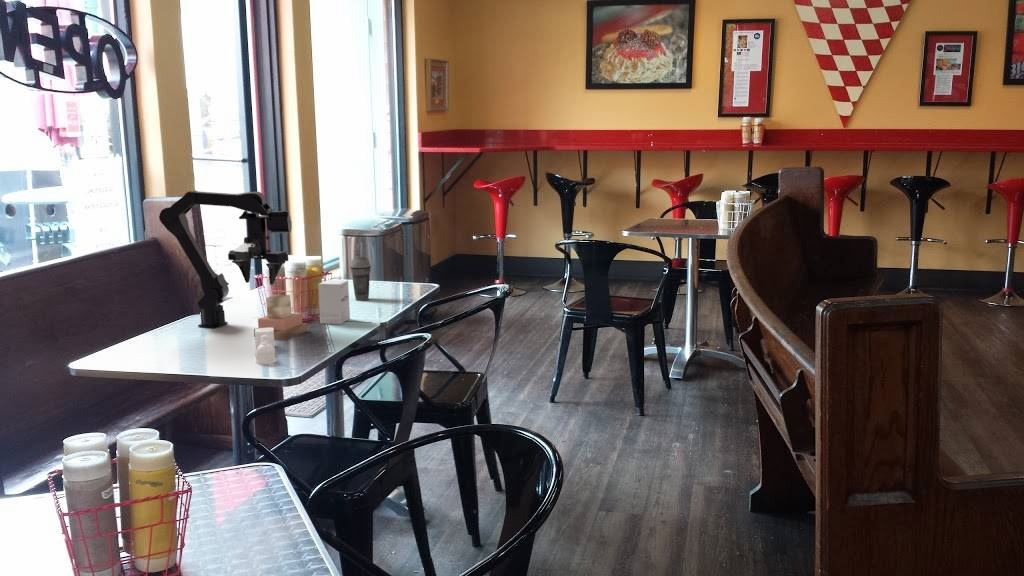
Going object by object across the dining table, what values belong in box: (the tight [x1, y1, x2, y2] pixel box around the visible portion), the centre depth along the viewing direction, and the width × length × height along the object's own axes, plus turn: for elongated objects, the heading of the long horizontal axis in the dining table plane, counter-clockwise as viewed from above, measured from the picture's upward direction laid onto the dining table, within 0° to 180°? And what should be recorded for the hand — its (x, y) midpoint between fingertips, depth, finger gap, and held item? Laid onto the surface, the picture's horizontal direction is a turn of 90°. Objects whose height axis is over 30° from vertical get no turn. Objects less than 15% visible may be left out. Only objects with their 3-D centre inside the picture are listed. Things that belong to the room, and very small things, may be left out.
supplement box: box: [317, 279, 351, 325], centre depth 278 cm, size 7×7×13 cm
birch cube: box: [265, 294, 293, 319], centre depth 263 cm, size 5×5×6 cm
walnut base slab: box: [253, 322, 309, 341], centre depth 264 cm, size 11×11×3 cm
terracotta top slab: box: [257, 313, 303, 331], centre depth 264 cm, size 9×9×3 cm
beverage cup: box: [349, 242, 372, 302], centre depth 310 cm, size 7×7×20 cm
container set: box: [254, 327, 277, 365], centre depth 241 cm, size 20×5×6 cm, turn 16°
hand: (259, 283), depth 275 cm, fingers open, 9 cm apart
